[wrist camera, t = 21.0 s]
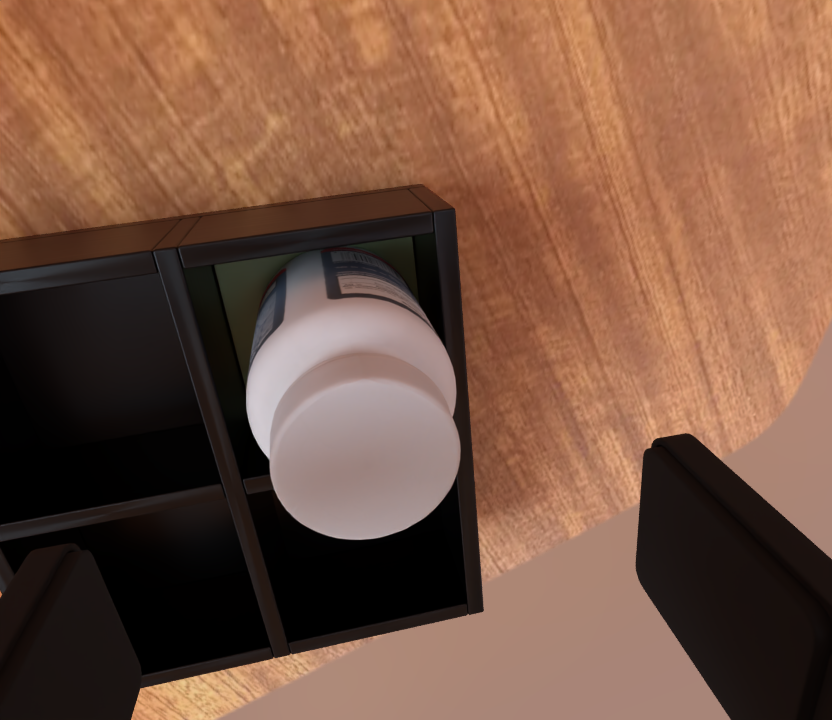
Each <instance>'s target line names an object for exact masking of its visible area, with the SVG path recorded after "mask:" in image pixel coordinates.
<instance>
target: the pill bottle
mask: <svg viewBox="0 0 832 720" xmlns="http://www.w3.org/2000/svg"><path fill="white" fill-rule="evenodd" d="M455 403H456V381H455V375H454V370H453V367H452V364H451V361H450V358H449V356H448V354H447V351H446V349H445V347H444V345H443V343H442V341H441V340H440V338H439V337H438V335H437V333H436V332H435V330H434V329H433V327H432V325H431V323H430V322H429V320H428V318H427V317H426V315H425V313H424V312H423V310H422V308H421V307H420V305H419V303H418V302H417V300H416V298H415V296H414V295H413V293H412V291H411V290H410V288H409V286H408V284H407V283H406V281H405V280H404V278H403V277H402V276H401V274H400V273H399V272H398V271H397V270H396V269H395V268H394V267H393V266H392V265H391V264H390V263H389V262H387V261H386V260H385V259H383V258H382V257H380V256H378V255H376V254H375V253H372V252H370V251H368V250H365V249H362V248H358V247H354V246H342V247H335V248H328V249H321V250H314V251H308V252H305V253H303V254H301V255H299V256H297V257H295V258H294V259H292V260H291V261H289V262H288V263H287V264H285V265H284V266H283V267H282V268H281V269H280V270H279V271H278V272H277V273H276V274H275V275H274V277H273V278H272V279H271V280H270V282H269V284H268V285H267V287H266V289H265V291H264V293H263V296H262V299H261V302H260V305H259V310H258V314H257V320H256V326H255V332H254V338H253V344H252V350H251V356H250V364H249V371H248V378H247V389H246V408H247V414H248V420H249V424H250V427H251V430H252V433H253V435H254V437H255V439H256V441H257V443H258V445H259V447H260V448H261V450H262V451H263V452H264V454H265V455H266V456H267V457H268V458H269V460H270V475H271V480H272V484H273V487H274V490H275V492H276V494H277V497H278V499H279V500H280V501H281V503H282V505H283V506H284V507H285V509H286V510H287V511H288V512H289V513H290V514H291V515H292V516H293V517H294V518H295V519H296V520H297V521H299V522H300V523H301V524H303V525H305V526H306V527H308V528H310V529H312V530H314V531H316V532H318V533H321V534H324V535H327V536H331V537H334V538H340V539H349V540H363V539H374V538H380V537H384V536H388V535H391V534H393V533H396V532H399V531H402V530H404V529H407V528H408V527H410V526H412V525H413V524H415V523H417V522H419V521H420V520H422V519H423V518H425V517H426V516H427V515H428V514H429V513H431V512H432V511H433V510H434V509H435V508H436V507H437V506H438V505H439V504H440V502H441V501H442V500H443V499H444V498H445V496H446V495H447V493H448V492H449V490H450V489H451V487H452V485H453V482H454V480H455V477H456V475H457V472H458V468H459V463H460V452H461V449H460V440H459V435H458V431H457V428H456V425H455V422H454V420H453V418H452V417H453V414H454V409H455Z"/></svg>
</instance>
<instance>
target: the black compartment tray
mask: <svg viewBox="0 0 832 720" xmlns="http://www.w3.org/2000/svg"><path fill="white" fill-rule="evenodd" d="M342 246H354V247H358V248H362V249H365V250H368V251H370V252H372V253H375V254H376V255H378V256H380V257H382V258H383V259H385V260H386V261H387V262H389V263H390V264H391V265H392V266H393V267H394V268H395V269H396V270H397V271H398V272H399V273H400V274H401V276H402V277H403V278H404V280H405V281H406V283H407V284H408V286H409V288H410V290H411V291H412V293H413V295H414V296H415V298H416V300H417V302H418V303H419V305H420V307H421V308H422V310H423V312H424V313H425V315H426V317H427V318H428V320H429V322H430V323H431V325H432V327H433V329H434V330H435V332H436V333H437V335H438V337H439V338H440V340H441V341H442V343H443V345H444V347H445V349H446V351H447V354H448V356H449V358H450V361H451V364H452V367H453V370H454V375H455V381H456V403H455V409H454V414H453V417H452V418H453V420H454V422H455V425H456V428H457V431H458V435H459V440H460V449H461V452H460V463H459V468H458V472H457V475H456V477H455V480H454V482H453V485H452V487H451V489H450V490H449V492H448V493H447V495H446V496H445V498H444V499H443V500H442V501H441V502H440V504H439V505H438V506H437V507H436V508H435V509H434V510H433V511H432V512H431V513H429V514H428V515H427V516H426V517H425V518H423V519H422V520H420V521H419V522H417V523H415V524H413V525H412V526H410V527H408V528H407V529H404V530H402V531H399V532H396V533H393V534H391V535H388V536H384V537H380V538H374V539H363V540H349V539H340V538H334V537H331V536H327V535H324V534H321V533H318V532H316V531H314V530H312V529H310V528H308V527H306V526H305V525H303V524H301V523H300V522H299V521H297V520H296V519H295V518H294V517H293V516H292V515H291V514H290V513H289V512H288V511H287V510H286V509H285V507H284V506H283V505H282V503H281V501H280V500H279V499H278V497H277V494H276V492H275V490H274V487H273V484H272V480H271V475H270V460H269V458H268V457H267V456H266V455H265V454H264V452H263V451H262V450H261V448H260V447H259V445H258V443H257V441H256V439H255V437H254V435H253V433H252V430H251V427H250V424H249V420H248V414H247V408H246V389H247V378H248V371H249V364H250V356H251V350H252V344H253V338H254V332H255V326H256V320H257V314H258V310H259V305H260V302H261V299H262V296H263V293H264V291H265V289H266V287H267V285H268V284H269V282H270V280H271V279H272V278H273V277H274V275H275V274H276V273H277V272H278V271H279V270H280V269H281V268H282V267H283V266H284V265H285V264H287V263H288V262H289V261H291V260H292V259H294V258H295V257H297V256H299V255H301V254H303V253H305V252H308V251H314V250H321V249H328V248H335V247H342ZM69 543H74V544H76V545H77V546H79V548H80V549H81V551H82V550H88V551H90V552H91V554H92V555H93V557H94V559H95V562H96V564H97V566H98V569H99V571H100V573H101V575H102V578H103V580H104V582H105V585H106V587H107V589H108V591H109V594H110V596H111V598H112V601H113V603H114V605H115V608H116V610H117V612H118V614H119V617H120V619H121V621H122V624H123V626H124V628H125V631H126V633H127V635H128V637H129V640H130V642H131V644H132V647H133V649H134V651H135V653H136V656H137V658H138V660H139V663H140V666H141V675H142V679H141V687H140V688H144V687H149V686H153V685H158V684H162V683H167V682H171V681H176V680H180V679H185V678H189V677H193V676H198V675H202V674H207V673H211V672H216V671H220V670H225V669H229V668H234V667H238V666H243V665H247V664H252V663H256V662H260V661H265V660H269V659H273V657H274V658H278V657H283V656H287V655H290V653H291V654H296V653H301V652H305V651H310V650H314V649H319V648H323V647H328V646H332V645H336V644H341V643H345V642H350V641H354V640H359V639H363V638H368V637H372V636H377V635H381V634H386V633H390V632H394V631H399V630H403V629H408V628H412V627H417V626H421V625H425V624H430V623H435V622H439V621H444V620H448V619H452V618H457V617H461V616H466V615H467V614H469V615H471V614H476V613H480V612H483V611H484V609H483V595H482V580H481V566H480V552H479V538H478V523H477V509H476V495H475V481H474V467H473V453H472V439H471V425H470V411H469V397H468V383H467V369H466V355H465V341H464V327H463V313H462V298H461V284H460V270H459V256H458V242H457V228H456V214H455V208H453V207H452V206H451V205H449V204H448V203H447V202H445V201H444V200H443V199H441V198H440V197H439V196H437V195H436V194H435V193H433V192H432V191H431V190H429V189H428V188H427V187H425V186H424V185H423V184H418V185H410V186H403V187H395V188H388V189H380V190H373V191H365V192H358V193H350V194H343V195H335V196H328V197H320V198H313V199H305V200H298V201H290V202H283V203H275V204H268V205H260V206H253V207H245V208H238V209H230V210H223V211H215V212H208V213H200V214H193V215H185V216H178V217H170V218H163V219H155V220H148V221H140V222H133V223H125V224H118V225H110V226H103V227H95V228H87V229H80V230H72V231H65V232H57V233H50V234H42V235H35V236H27V237H20V238H12V239H5V240H0V591H1V593H2V594H3V593H4V591H5V590H6V588H7V587H8V585H9V584H10V582H11V580H12V579H13V577H14V576H15V574H16V573H17V571H18V569H19V568H20V566H21V565H22V563H23V562H24V560H25V558H26V557H27V556H28V555H29V553H30V552H31V551H33V550H35V549H41V548H46V547H52V546H57V545H63V544H69Z"/></svg>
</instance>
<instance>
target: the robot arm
mask: <svg viewBox="0 0 832 720" xmlns="http://www.w3.org/2000/svg"><path fill="white" fill-rule="evenodd" d="M636 572H637V575H638V579H639V581H640V583H641V585H642V587H643V588H644V590H645V592H646V593H647V594H648V596H649V597H650V599H651V600H652V602H653V603H654V605H655V606H656V608H657V609H658V611H659V612H660V614H661V615H662V617H663V618H664V620H665V621H666V623H667V624H668V626H669V627H670V629H671V630H672V632H673V633H674V635H675V636H676V638H677V639H678V641H679V642H680V644H681V645H682V647H683V648H684V650H685V651H686V653H687V654H688V655H689V657H690V659H691V660H692V662H693V663H694V665H695V666H696V668H697V669H698V671H699V672H700V674H701V675H702V677H703V678H704V680H705V681H706V683H707V684H708V686H709V687H710V689H711V690H712V692H713V693H714V695H715V696H716V698H717V699H718V701H719V702H720V704H721V705H722V707H723V708H724V710H725V711H726V713H727V714H728V716H729V717H730V719H731V720H832V559H831V558H830V557H828V556H827V555H826V554H825V553H824V552H823V551H822V550H820V549H819V548H818V547H817V546H816V545H815V544H814V543H813V542H812V541H811V540H809V539H808V538H807V537H806V536H805V535H804V534H803V533H802V532H800V531H799V530H798V529H797V528H796V527H795V526H794V525H793V524H791V523H790V522H789V521H788V520H787V519H786V518H785V517H784V516H782V515H781V514H780V513H779V512H778V511H777V510H776V509H775V508H774V507H772V506H771V505H770V504H769V503H768V502H767V501H766V500H764V499H763V498H762V497H761V496H760V495H759V494H758V493H757V492H756V491H754V490H753V489H752V488H751V487H750V486H749V485H748V484H747V483H746V482H744V481H743V480H742V479H741V478H740V477H739V476H738V475H737V474H735V473H734V472H733V471H732V470H731V469H730V468H729V467H727V465H725V464H724V463H723V462H722V461H721V460H720V459H719V458H718V457H716V456H715V455H714V454H713V453H712V452H711V451H710V450H709V449H708V448H706V447H705V446H704V445H703V444H702V443H701V442H700V441H699V440H697V439H696V438H695V437H694V436H692V435H691V434H687V433H685V434H680V435H674V436H668V437H663V438H657V439H655V440H654V441H653V443H652V446H651V448H649V449H646V450H645V452H644V456H643V468H642V482H641V496H640V511H639V524H638V538H637V552H636ZM141 679H142V675H141V666H140V663H139V660H138V658H137V656H136V653H135V651H134V649H133V647H132V644H131V642H130V640H129V637H128V635H127V633H126V631H125V628H124V626H123V624H122V621H121V619H120V617H119V614H118V612H117V610H116V608H115V605H114V603H113V601H112V598H111V596H110V594H109V591H108V589H107V587H106V585H105V582H104V580H103V578H102V575H101V573H100V571H99V569H98V566H97V564H96V562H95V559H94V557H93V555H92V554H91V552H90V551H88V550H82V551H81V549H80V548H79V546H77V545H76V544H74V543H69V544H63V545H57V546H52V547H46V548H41V549H35V550H33V551H31V552H30V553H29V555H28V556H27V557H26V558H25V560H24V562H23V563H22V565H21V566H20V568H19V569H18V571H17V573H16V574H15V576H14V577H13V579H12V580H11V582H10V584H9V585H8V587H7V588H6V590H5V591H4V593H3V594H2V596H1V598H0V720H131V717H132V714H133V711H134V707H135V704H136V701H137V697H138V694H139V691H140V687H141Z"/></svg>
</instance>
